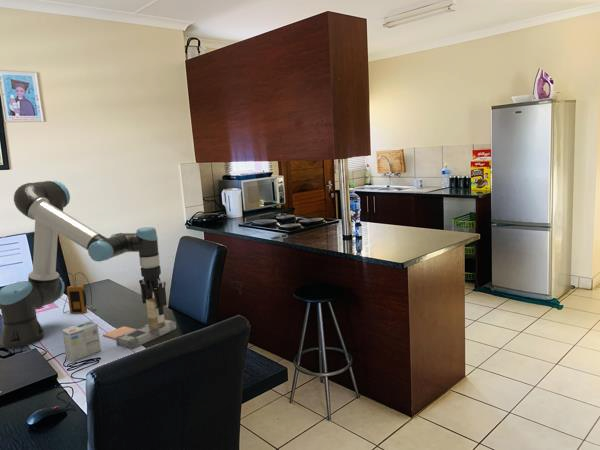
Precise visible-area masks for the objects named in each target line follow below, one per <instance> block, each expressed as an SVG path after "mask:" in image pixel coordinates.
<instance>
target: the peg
mask: <svg viewBox="0 0 600 450" xmlns="http://www.w3.org/2000/svg"><path fill="white" fill-rule="evenodd" d="M145 300H146V299H145ZM146 305H147V306H146ZM145 306H146V311H147V320H148V321H147V322H148V323H147V324H149V327H152V328H158V327H161V326H163V325H165V320H166V319H165V320H164V321H163V322H161V323H157V314H156V307H157V304H156V300H155V297H153V298H151V299H148V300H146V304H145ZM163 311H164V309H163ZM164 312H165V311H164ZM163 317H164V318H165V313H164V314H163Z"/></svg>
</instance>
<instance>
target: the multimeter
mask: <svg viewBox="0 0 600 450" xmlns="http://www.w3.org/2000/svg"><path fill="white" fill-rule="evenodd" d="M68 274H70V275H71V277H74V276H76V275H77V274H82V275H83V277H84V278H85V279H86V282H87V283H88V286H89V290H90V291H92V288H91V284H90V281H89V280H88V278H87V277H86V275H85V274H84V273H82V272H80V271H79V272H76V273H75V274H74V275H73V273H70V272H67V273H66V274H65V276H64V279H66V277H67V275H68ZM76 278H77V277H74V278H72V282H73V283H72V285H70V286H67V285H66V282H64V286H65V289H66V293H67V296H66V299H65V303H64V306H63V311H62V313H63V314H65V313H68V312H70V314H85V313H86V312H88V309H89V308H91V309H92V310H91V311H92V312H95V311H97V309H96V308H95V307H93V305H91V306H90V305H89V306H88V305H87V297H86V296H87V295H86V290H85V286H84V285H78V284H77V280H76ZM90 299H91V300H90V301H91V303H93V295H92V292H90ZM67 302H68V306H69V310H67V311H65V307H66V303H67Z"/></svg>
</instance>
